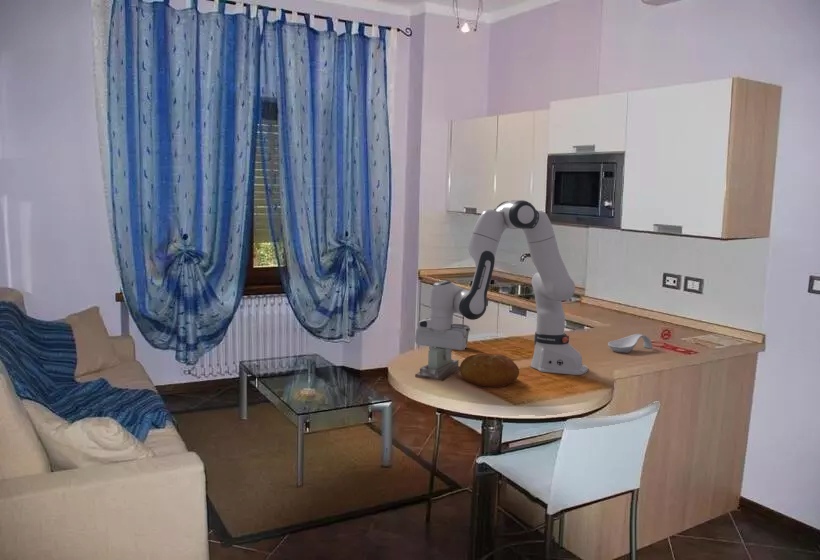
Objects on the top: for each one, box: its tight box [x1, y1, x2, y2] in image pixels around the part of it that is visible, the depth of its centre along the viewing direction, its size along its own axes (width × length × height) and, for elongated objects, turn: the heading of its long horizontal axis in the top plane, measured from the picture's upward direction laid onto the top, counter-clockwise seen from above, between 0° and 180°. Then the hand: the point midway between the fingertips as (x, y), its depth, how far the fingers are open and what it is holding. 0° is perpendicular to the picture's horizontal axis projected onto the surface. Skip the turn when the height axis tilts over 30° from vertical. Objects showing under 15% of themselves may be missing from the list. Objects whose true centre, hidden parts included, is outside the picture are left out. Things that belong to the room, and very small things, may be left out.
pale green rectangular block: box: [427, 347, 453, 370], centre depth 259 cm, size 4×14×8 cm, turn 154°
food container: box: [453, 323, 471, 349], centre depth 306 cm, size 12×6×10 cm, turn 74°
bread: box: [459, 352, 520, 388], centre depth 250 cm, size 23×23×10 cm
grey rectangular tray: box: [414, 358, 460, 382], centre depth 259 cm, size 11×20×4 cm, turn 154°
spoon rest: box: [607, 333, 653, 354], centre depth 308 cm, size 24×12×7 cm, turn 121°
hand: (440, 358), depth 259 cm, fingers closed on pale green rectangular block, 3 cm apart
